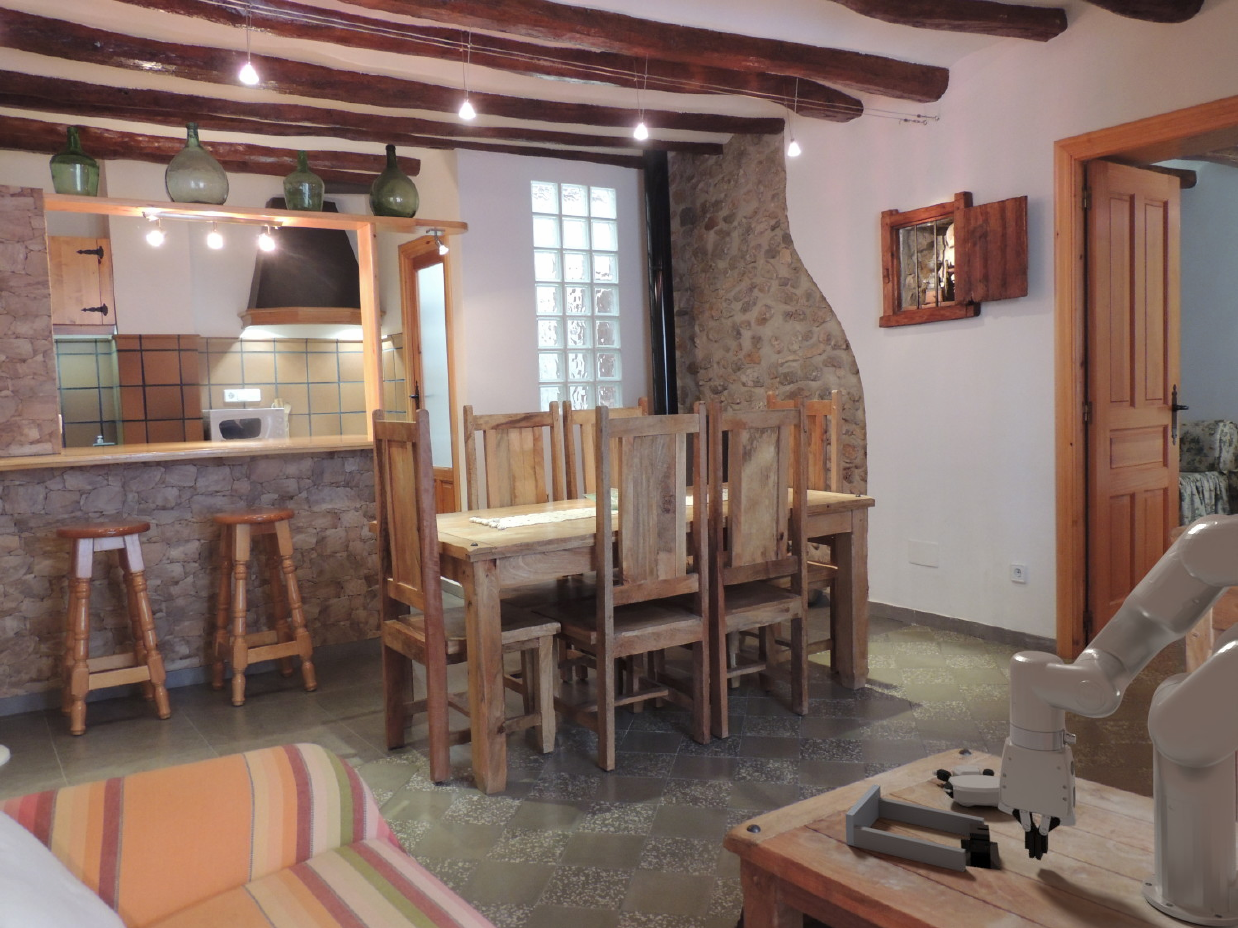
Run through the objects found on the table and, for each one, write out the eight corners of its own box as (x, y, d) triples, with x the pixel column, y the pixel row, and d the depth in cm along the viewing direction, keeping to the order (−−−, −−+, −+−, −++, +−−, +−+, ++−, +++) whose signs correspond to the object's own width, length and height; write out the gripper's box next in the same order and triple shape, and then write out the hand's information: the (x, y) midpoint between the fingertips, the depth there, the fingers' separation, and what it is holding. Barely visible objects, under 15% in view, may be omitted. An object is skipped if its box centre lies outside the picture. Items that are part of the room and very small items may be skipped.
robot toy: (928, 785, 169) (950, 814, 154) (927, 761, 169) (949, 787, 154) (996, 785, 168) (1024, 814, 153) (995, 761, 168) (1023, 787, 153)
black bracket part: (1007, 880, 133) (1006, 849, 133) (955, 874, 136) (954, 844, 135) (1001, 841, 145) (1001, 813, 145) (953, 836, 147) (952, 809, 147)
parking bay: (984, 836, 146) (983, 805, 146) (964, 872, 135) (963, 839, 134) (874, 812, 156) (873, 784, 156) (846, 844, 145) (845, 813, 145)
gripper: (1096, 737, 133) (1095, 858, 134) (989, 719, 141) (989, 833, 142) (1089, 753, 127) (1088, 879, 128) (978, 734, 135) (978, 852, 136)
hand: (1036, 855), depth 135 cm, fingers closed
